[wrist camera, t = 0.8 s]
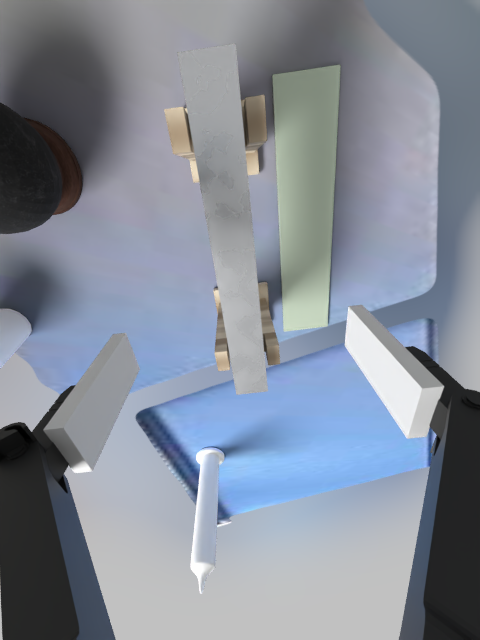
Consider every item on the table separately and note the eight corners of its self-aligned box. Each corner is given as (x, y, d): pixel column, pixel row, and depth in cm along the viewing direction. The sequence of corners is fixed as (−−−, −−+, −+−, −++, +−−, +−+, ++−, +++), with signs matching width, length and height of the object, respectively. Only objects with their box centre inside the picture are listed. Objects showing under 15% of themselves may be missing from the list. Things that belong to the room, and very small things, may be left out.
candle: (195, 462, 68) (178, 600, 46) (198, 445, 64) (182, 584, 43) (221, 465, 69) (218, 600, 47) (226, 448, 65) (225, 586, 43)
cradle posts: (181, 110, 33) (148, 68, 20) (252, 100, 32) (268, 50, 19) (221, 328, 48) (217, 385, 35) (269, 322, 48) (284, 378, 35)
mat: (272, 76, 31) (272, 74, 31) (339, 66, 31) (340, 64, 31) (283, 330, 49) (284, 331, 48) (326, 324, 49) (327, 326, 48)
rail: (187, 76, 22) (177, 52, 18) (234, 69, 22) (235, 43, 18) (235, 369, 38) (236, 394, 33) (263, 365, 38) (267, 391, 33)
